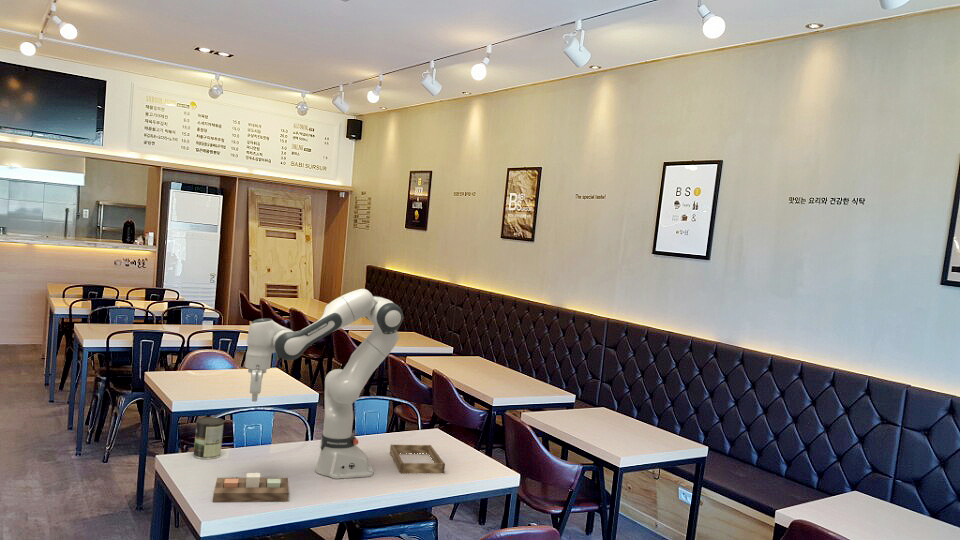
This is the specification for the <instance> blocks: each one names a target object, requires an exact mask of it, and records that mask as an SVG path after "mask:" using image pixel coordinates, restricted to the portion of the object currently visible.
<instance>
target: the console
mask: <svg viewBox="0 0 960 540" xmlns="http://www.w3.org/2000/svg"><path fill="white" fill-rule="evenodd" d="M225 479H238V488H224V481H225ZM267 479H280V481H281V484H280V488H267ZM213 489H214V491H213V495H212V503H248V502H249V503H257V502H258V503H259V502H261V503H262V502H263V503H264V502H266V503H268V502H269V503H270V502H271V503H272V502H273V503H274V502H275V503H276V502H277V503H279V502H282V503H283V502H285V503H286V502H289V495H290V492H289V491H290V489H289V478H288V477H260V482H259V488H246V477H216V481H215V486H214V488H213Z"/></svg>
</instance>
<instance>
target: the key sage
mask: <svg viewBox="0 0 960 540" xmlns="http://www.w3.org/2000/svg"><path fill="white" fill-rule="evenodd" d="M280 484H281V481H280V479H267V488H280Z"/></svg>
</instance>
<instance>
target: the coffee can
mask: <svg viewBox="0 0 960 540" xmlns="http://www.w3.org/2000/svg"><path fill="white" fill-rule="evenodd" d="M195 422H196V426H195V433H194V434H195V436H194V446H193V455H192V456H193V457H194V458H196V459H199V460H214V459H217V458H220V457H221V456H222V454H221V453H222V443H223V433H224V432H223V431H224V423H225V420H224V419H223V418H220V417H215V416H211V417H210V416H208V417H207V416H206V417H205V416H204V417H199V418H197V419H196V421H195Z"/></svg>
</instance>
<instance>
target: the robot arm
mask: <svg viewBox="0 0 960 540" xmlns="http://www.w3.org/2000/svg"><path fill="white" fill-rule="evenodd" d="M364 317H365V318H366V319H367V320H368V321H370V322H371V323H372V324H373V328H372V330H371V332H370V334H369V335H368V336H366V337H365V339H363V341H362V342H361V343H360V344H359V345H358V347H357V348H355V350H354V351H353V352H352V353H351V355H350V357H349V359H348V362H347V363H346V364H345V366H344V367H343V369H342V368H341V369H340V368H337V369H336V368H335V369H332V370H331V371H329V372H328V373H327V374H326V376H325V378H324V379H325V380H324V421H323V427H322V428H323V429H322V430H323V431H322V434H321V438H320V445H319V447H320V452H319V457H318V461H317V463H316V467H315V468H314V471H315V472H316V474H319V475H322V476H325V477H329V478H331V479H339V480H340V479H351V478H352V479H353V478H364V477H365V478H366V477H368V478H369V477H371V476H373V475H374V468H373V466H372V465H371V464H369V458H368V455H367V454H366V452H364V451H363V450H362V448H360V447H359V446H357V445H358V444H359V443H360V442H359V439H358V438H357V437H356V436H354V435H353V424H354V411H353V409H354V408H353V403H356V402H357V400H358V399H359V397H360V395H361V392H362V390H363V389H364V388H365V386H366V384H367V383H368V382H369V379H370V378H371V376H372V375H373V373H374V372H375V371H376V369H377V368H378V367H379V366H380V365H381V363H383V362H384V360H385V359H386V358H387V357H388V356H389V355H390V353H391V351H393V349H394V347H395V346H396V344H397V343H398V341H399V339H400V338H399V337H400V336H399V333H398V331H399V329H400V326H401V325H402V322H403V320H404V313H403V310H402V308H401V307H400V306H399V305H398V304H396V303H394V302H393V301H392V300H390V299H387V298H385V297H383V296H379V295H373V294H372V292H370V291H369V290H368V289H366V288H360V289H355V290H353V291H350V292H347V293H345V294H343V295H340V296H338V297H337V298H335V299H333V300H332V301H330V302H329V303H328V304H327V305H326V306H325V307H324V311H323V314H322V316H321V317H319V319H318V320H317V321H315V322H313V323H312V324H310V325H308V326H306V327H304V328H302V329H301V330H297V331H293V329H290V328H287V327H286V326H282V325H281V324H279V323H277V322H275V321H274V320H273V319H272V318H270V317H268V318H265V317H263V318H258V319H255V320H253V321H252V322H251V323H250V325H249V328H248V334H247V339H246V340H247V351H246V353H245V361H244V362H245V363H244V367H245V368H246V369H248V370H247V372H248V373H249V374H250V385H249V393H250V394H251V401H252V402H255V403H256V402H257V401H258V395H260V394H261V392H262V383H263V382H262V381H263V377H264V374H267V370H270V369H271V366H272V365H271V364H272V355H273V354H274V353H275V354H277V356H278V357H280V359H282V360H284V361H295V360H297V359H299V358H300V357H301V356H302V355H304V354H303V353H305V351H306V350H308V348H309V347H310V346H312V345H313V344H314V343H315V344H316V343H317V342H318V341H320V340H322V339H323V338H325V337H327V336H329V335H330V334H331V333H333V332H335V331H337V330H339V329H342V328H344V327H347V326H349V325H351V324H353V323H355V322H356V321H358V320H360V319H363V318H364Z"/></svg>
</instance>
